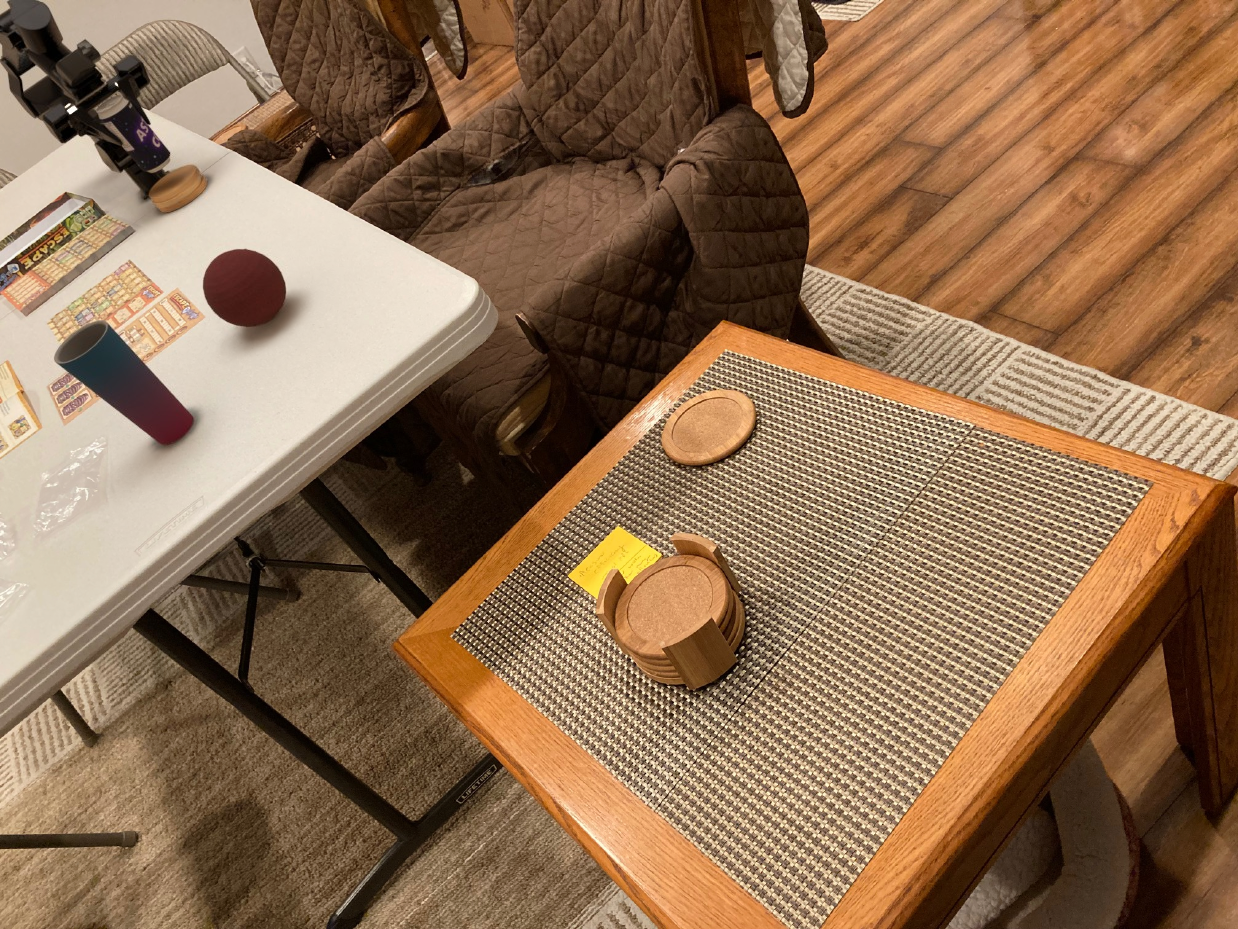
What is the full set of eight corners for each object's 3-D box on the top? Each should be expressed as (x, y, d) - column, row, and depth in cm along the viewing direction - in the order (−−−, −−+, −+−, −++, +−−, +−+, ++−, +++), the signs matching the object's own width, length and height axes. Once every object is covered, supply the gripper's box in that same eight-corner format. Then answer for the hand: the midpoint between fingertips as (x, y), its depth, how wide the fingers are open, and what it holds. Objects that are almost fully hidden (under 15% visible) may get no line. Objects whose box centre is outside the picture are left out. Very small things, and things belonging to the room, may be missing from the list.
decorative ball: (231, 353, 114) (178, 295, 107) (241, 309, 121) (192, 252, 114) (298, 324, 112) (249, 263, 105) (304, 281, 119) (258, 222, 112)
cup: (160, 418, 109) (66, 332, 99) (205, 401, 108) (115, 312, 98) (145, 457, 105) (44, 371, 94) (192, 440, 103) (96, 350, 93)
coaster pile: (157, 201, 161) (145, 187, 159) (203, 172, 162) (192, 158, 160) (162, 219, 154) (150, 205, 152) (211, 189, 155) (199, 174, 153)
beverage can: (166, 169, 150) (114, 106, 142) (140, 178, 152) (88, 116, 143) (178, 152, 154) (129, 89, 145) (153, 161, 155) (102, 99, 147)
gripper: (-3, 69, 136) (74, 140, 137) (95, 5, 142) (168, 73, 143) (25, 110, 146) (95, 175, 147) (115, 49, 152) (182, 112, 153)
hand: (135, 133), depth 147 cm, fingers closed on beverage can, 5 cm apart
